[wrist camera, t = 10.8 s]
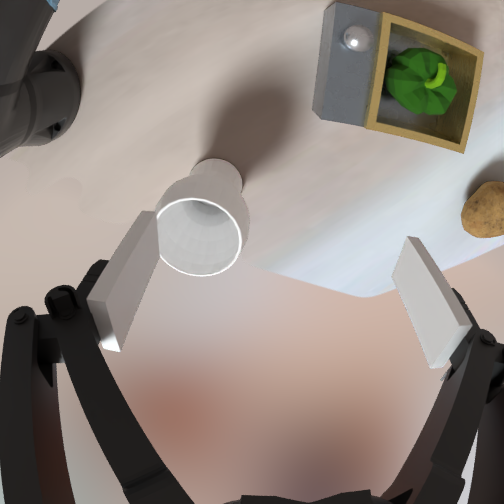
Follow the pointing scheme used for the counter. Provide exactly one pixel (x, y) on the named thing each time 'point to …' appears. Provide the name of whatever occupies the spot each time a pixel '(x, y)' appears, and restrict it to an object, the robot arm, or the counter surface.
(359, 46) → the gold open box
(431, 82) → the bell pepper
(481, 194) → the potato
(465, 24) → the counter surface
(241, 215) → the cup
